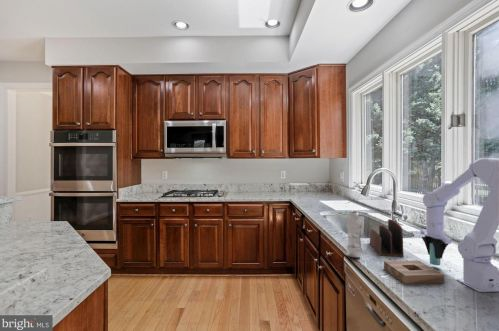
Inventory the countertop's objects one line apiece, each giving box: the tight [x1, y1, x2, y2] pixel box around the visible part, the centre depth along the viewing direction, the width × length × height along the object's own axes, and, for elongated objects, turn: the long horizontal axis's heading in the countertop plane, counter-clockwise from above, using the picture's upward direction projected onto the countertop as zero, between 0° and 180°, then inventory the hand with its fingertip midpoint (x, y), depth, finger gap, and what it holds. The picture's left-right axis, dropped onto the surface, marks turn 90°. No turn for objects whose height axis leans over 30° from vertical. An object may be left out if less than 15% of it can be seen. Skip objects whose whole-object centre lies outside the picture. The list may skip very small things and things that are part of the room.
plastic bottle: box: [346, 211, 363, 259], centre depth 124 cm, size 6×7×20 cm
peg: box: [429, 243, 441, 266], centre depth 111 cm, size 4×4×8 cm
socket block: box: [383, 259, 445, 285], centre depth 103 cm, size 14×14×3 cm
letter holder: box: [369, 218, 404, 258], centre depth 134 cm, size 10×20×14 cm, turn 169°
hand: (434, 256), depth 111 cm, fingers closed on peg, 4 cm apart
